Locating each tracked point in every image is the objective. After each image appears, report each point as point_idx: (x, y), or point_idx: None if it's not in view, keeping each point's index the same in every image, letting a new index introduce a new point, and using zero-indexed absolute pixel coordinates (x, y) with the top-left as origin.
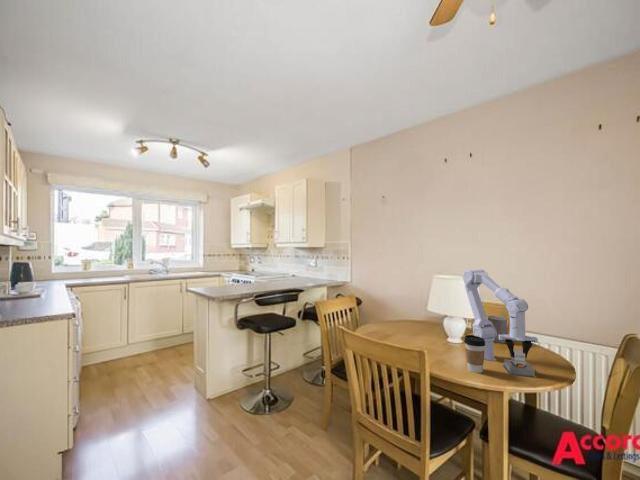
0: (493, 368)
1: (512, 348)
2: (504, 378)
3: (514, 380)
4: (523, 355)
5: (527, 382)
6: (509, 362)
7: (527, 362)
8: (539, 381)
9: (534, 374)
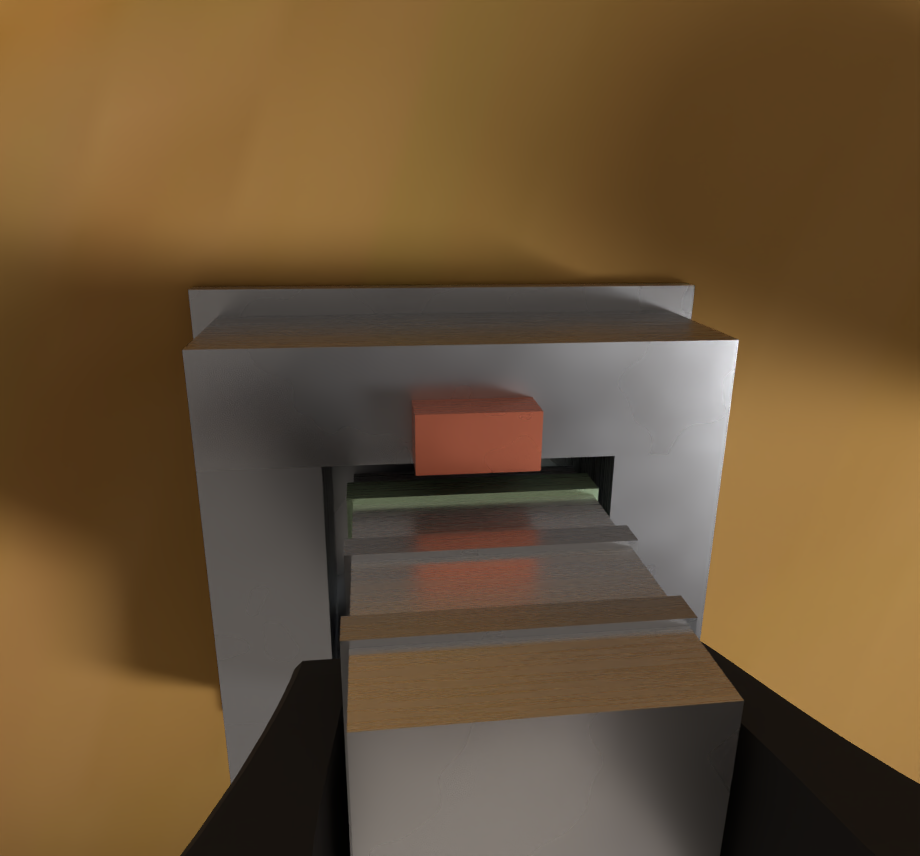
0: (838, 533)
1: (910, 842)
2: (839, 97)
3: (681, 42)
4: (407, 663)
5: (448, 3)
6: None
7: (228, 759)
8: (175, 138)
9: (212, 325)
